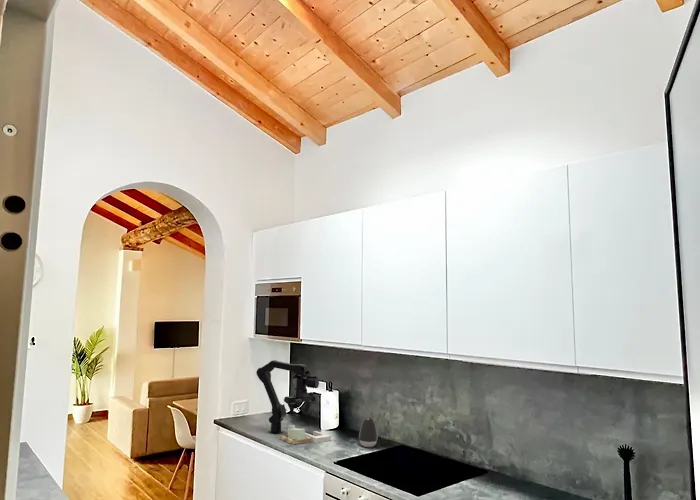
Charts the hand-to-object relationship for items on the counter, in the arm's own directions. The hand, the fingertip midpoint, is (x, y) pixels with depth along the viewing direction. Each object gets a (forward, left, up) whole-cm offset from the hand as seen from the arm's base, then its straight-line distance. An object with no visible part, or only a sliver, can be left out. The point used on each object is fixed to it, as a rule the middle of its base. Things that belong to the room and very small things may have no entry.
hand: (299, 414), depth 296 cm
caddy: (+9, -8, -11) cm, 16 cm away
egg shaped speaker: (+38, +20, -12) cm, 44 cm away
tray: (+9, -8, -12) cm, 17 cm away
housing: (+11, +4, -12) cm, 17 cm away
